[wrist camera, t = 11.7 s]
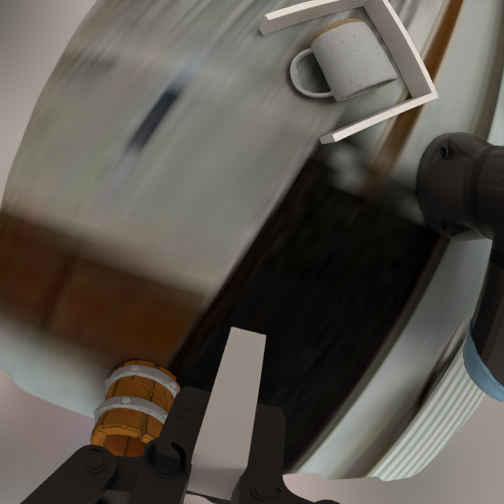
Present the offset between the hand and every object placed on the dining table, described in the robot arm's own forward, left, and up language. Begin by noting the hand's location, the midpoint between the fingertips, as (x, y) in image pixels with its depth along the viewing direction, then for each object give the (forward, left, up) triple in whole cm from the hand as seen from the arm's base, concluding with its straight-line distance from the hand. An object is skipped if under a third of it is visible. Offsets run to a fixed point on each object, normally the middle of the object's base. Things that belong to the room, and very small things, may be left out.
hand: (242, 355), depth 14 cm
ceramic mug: (-15, -18, -24) cm, 34 cm away
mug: (+12, +21, -24) cm, 35 cm away
